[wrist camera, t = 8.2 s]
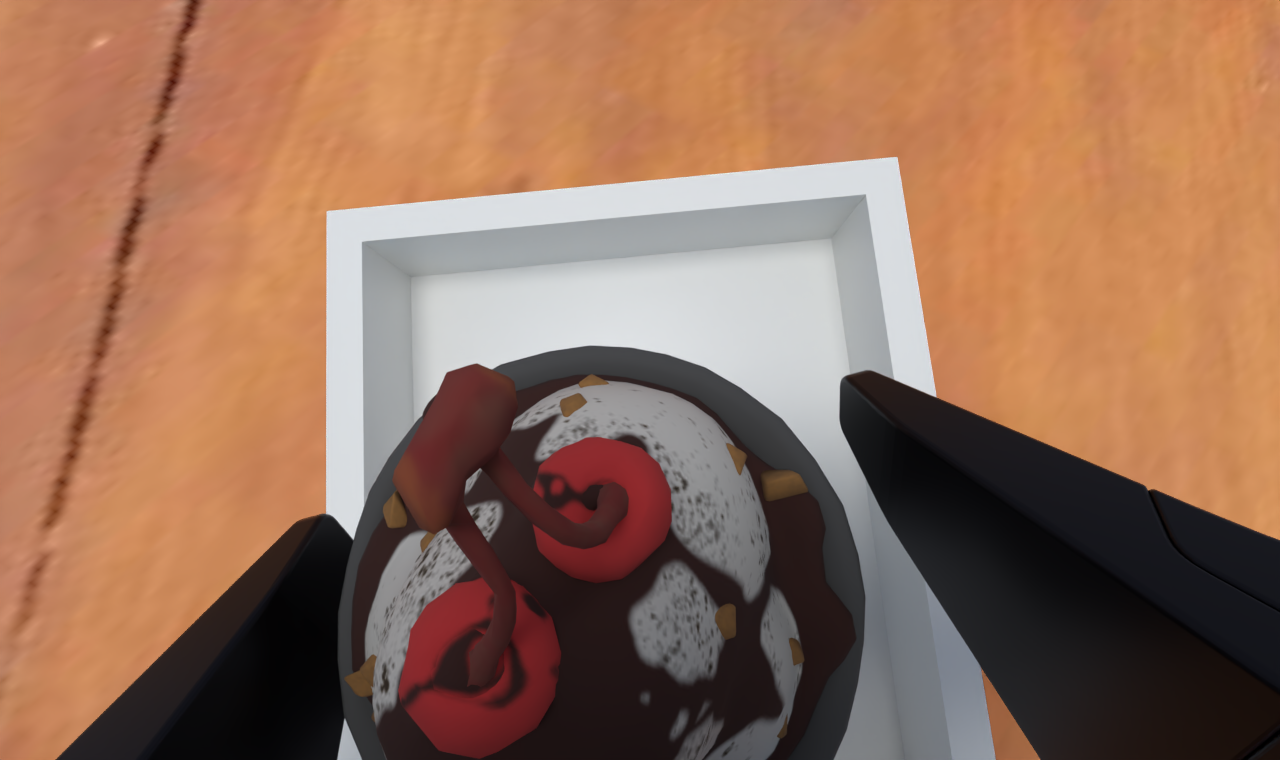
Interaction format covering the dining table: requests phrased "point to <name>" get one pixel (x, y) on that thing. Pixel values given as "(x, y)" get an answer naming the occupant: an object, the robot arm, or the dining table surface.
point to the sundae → (600, 574)
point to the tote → (680, 327)
